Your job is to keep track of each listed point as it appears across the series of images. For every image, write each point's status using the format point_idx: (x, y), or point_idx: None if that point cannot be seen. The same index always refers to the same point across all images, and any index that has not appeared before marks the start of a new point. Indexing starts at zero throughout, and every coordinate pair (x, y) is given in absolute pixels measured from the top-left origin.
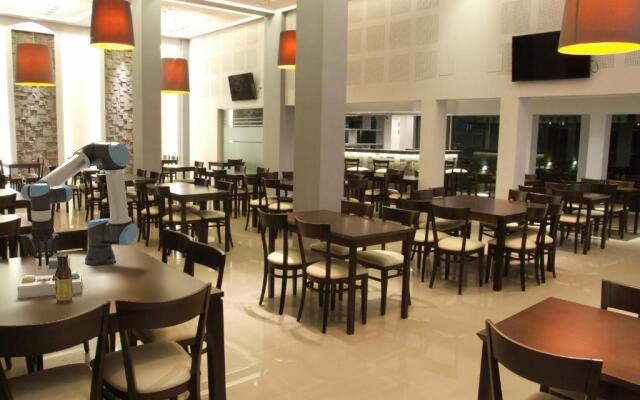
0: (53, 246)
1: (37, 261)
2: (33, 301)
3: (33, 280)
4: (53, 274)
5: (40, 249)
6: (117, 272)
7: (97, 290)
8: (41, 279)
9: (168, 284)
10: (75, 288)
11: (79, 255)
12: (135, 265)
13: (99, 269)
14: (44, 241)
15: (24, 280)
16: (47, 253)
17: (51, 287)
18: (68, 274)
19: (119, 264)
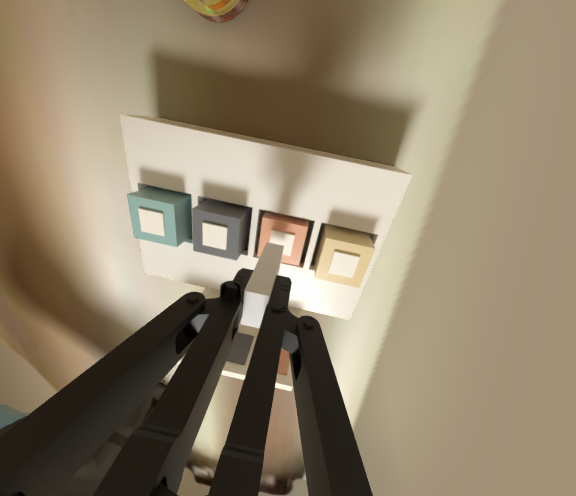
0: (113, 363)
1: (287, 378)
2: (350, 73)
3: (326, 231)
4: (237, 240)
5: (253, 367)
6: (86, 305)
7: (101, 124)
8: (292, 229)
9: None
10: (166, 121)
11: (197, 445)
12: (56, 339)
13: None
14: (155, 469)
15: (363, 241)
16: (211, 318)
17: (260, 141)
18: None
19: None
